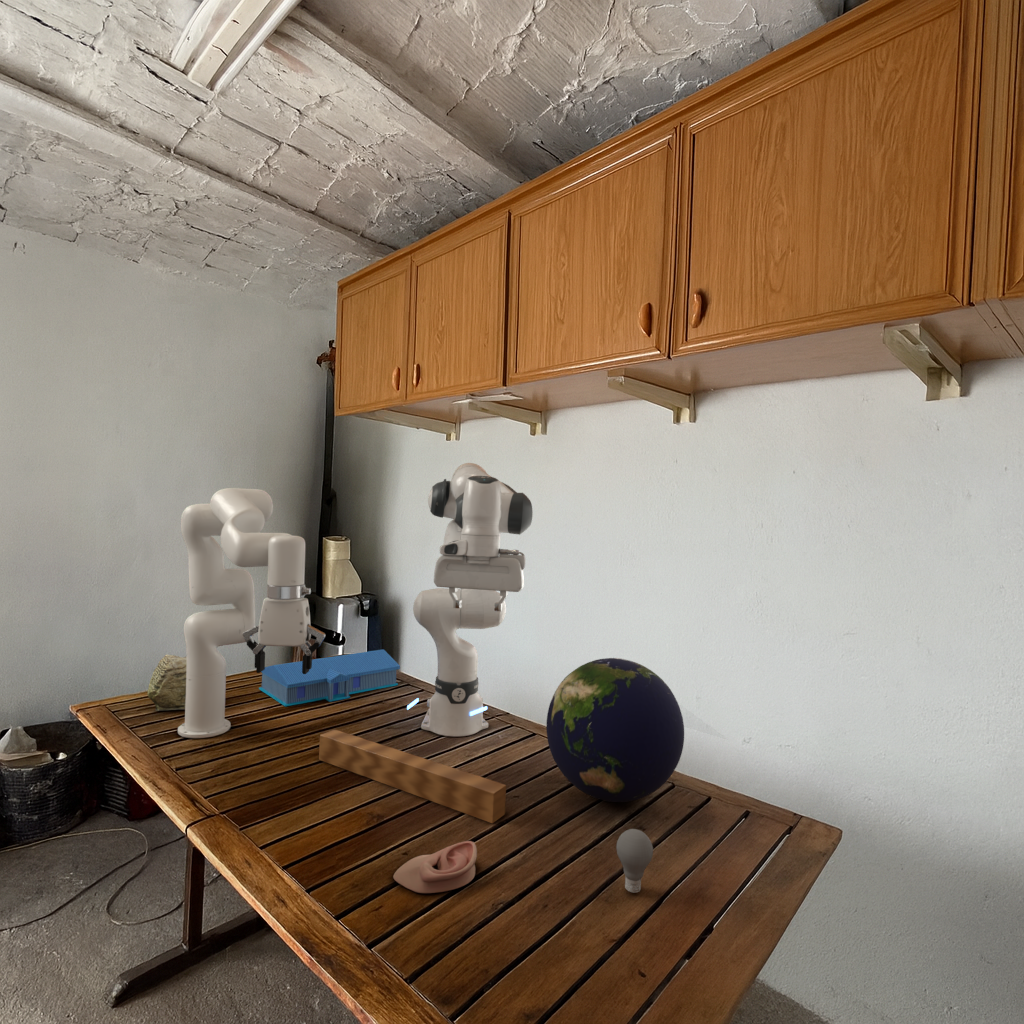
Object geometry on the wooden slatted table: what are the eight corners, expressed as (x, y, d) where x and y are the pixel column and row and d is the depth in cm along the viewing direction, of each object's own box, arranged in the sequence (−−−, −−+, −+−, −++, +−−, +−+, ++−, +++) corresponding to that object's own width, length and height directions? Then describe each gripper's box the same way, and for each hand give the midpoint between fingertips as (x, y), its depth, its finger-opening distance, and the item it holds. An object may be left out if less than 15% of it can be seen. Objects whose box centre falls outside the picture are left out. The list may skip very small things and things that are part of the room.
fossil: (144, 707, 182) (145, 655, 182) (212, 696, 194) (213, 647, 194) (151, 716, 175) (153, 662, 175) (221, 703, 188) (223, 653, 188)
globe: (523, 809, 132) (530, 666, 131) (566, 757, 160) (571, 639, 159) (669, 844, 121) (677, 688, 120) (688, 782, 148) (694, 654, 148)
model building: (289, 709, 186) (291, 675, 185) (258, 688, 204) (259, 657, 204) (403, 687, 212) (405, 657, 212) (366, 670, 230) (368, 643, 230)
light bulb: (610, 879, 108) (613, 822, 108) (644, 879, 109) (647, 822, 109) (619, 902, 102) (622, 840, 102) (655, 901, 103) (658, 840, 103)
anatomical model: (386, 863, 103) (411, 828, 115) (385, 887, 104) (410, 850, 115) (465, 876, 101) (482, 839, 112) (463, 901, 101) (481, 861, 112)
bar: (318, 759, 152) (319, 734, 152) (333, 753, 156) (334, 729, 156) (492, 823, 126) (493, 793, 126) (505, 814, 130) (506, 784, 130)
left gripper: (330, 591, 141) (327, 668, 141) (251, 589, 140) (248, 666, 140) (321, 596, 133) (319, 677, 133) (238, 594, 132) (235, 675, 132)
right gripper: (528, 549, 143) (525, 610, 143) (441, 544, 147) (438, 604, 147) (523, 551, 137) (521, 614, 137) (432, 546, 141) (430, 608, 141)
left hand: (283, 671), depth 137 cm, fingers open, 9 cm apart
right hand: (477, 609), depth 142 cm, fingers open, 8 cm apart
